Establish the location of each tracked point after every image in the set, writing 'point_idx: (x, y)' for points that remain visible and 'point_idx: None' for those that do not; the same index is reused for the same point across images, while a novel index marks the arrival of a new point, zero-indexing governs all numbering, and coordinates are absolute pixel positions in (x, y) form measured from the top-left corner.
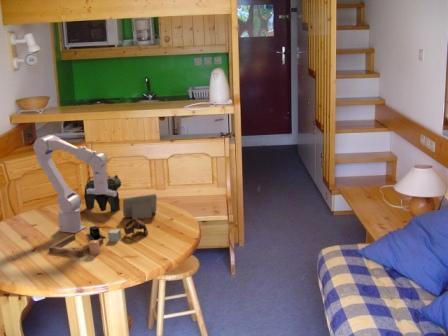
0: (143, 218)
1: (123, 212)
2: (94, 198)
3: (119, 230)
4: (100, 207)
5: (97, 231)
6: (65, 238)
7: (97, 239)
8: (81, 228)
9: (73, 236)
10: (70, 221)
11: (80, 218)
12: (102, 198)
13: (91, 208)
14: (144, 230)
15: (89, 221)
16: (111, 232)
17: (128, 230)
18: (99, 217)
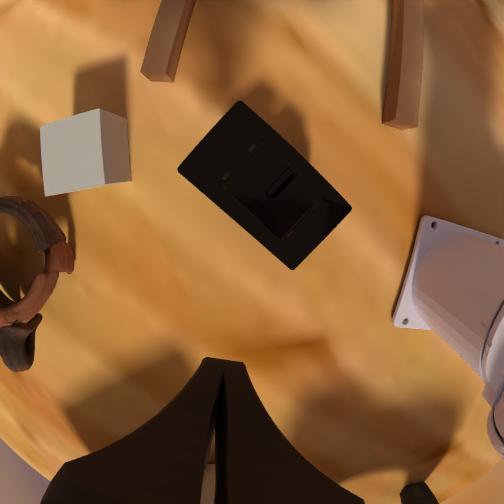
0: None
1: None
2: (353, 494)
3: (43, 177)
4: (234, 384)
5: (234, 171)
6: (417, 54)
7: (219, 129)
8: (408, 288)
9: (394, 104)
10: (490, 250)
11: (444, 328)
12: (69, 476)
13: (407, 486)
14: (13, 304)
15: (392, 399)
16: (78, 121)
17: (4, 201)
18: (354, 446)
